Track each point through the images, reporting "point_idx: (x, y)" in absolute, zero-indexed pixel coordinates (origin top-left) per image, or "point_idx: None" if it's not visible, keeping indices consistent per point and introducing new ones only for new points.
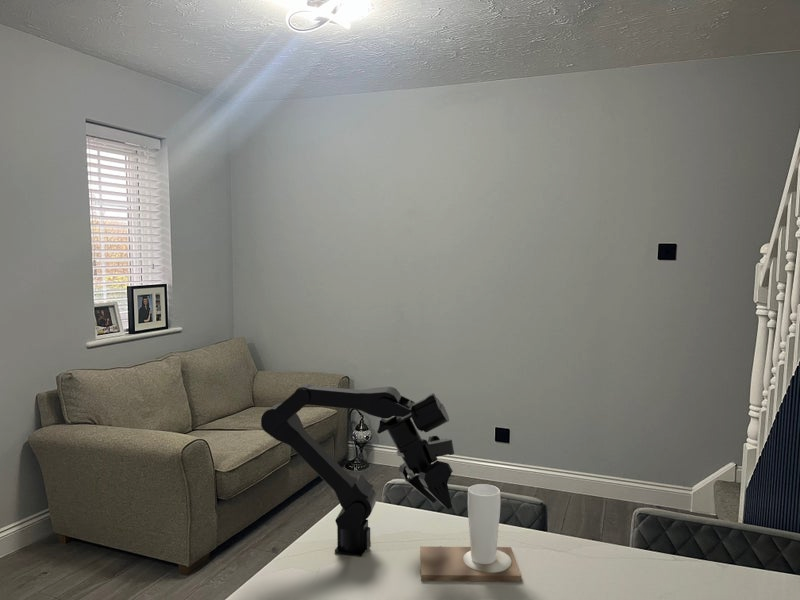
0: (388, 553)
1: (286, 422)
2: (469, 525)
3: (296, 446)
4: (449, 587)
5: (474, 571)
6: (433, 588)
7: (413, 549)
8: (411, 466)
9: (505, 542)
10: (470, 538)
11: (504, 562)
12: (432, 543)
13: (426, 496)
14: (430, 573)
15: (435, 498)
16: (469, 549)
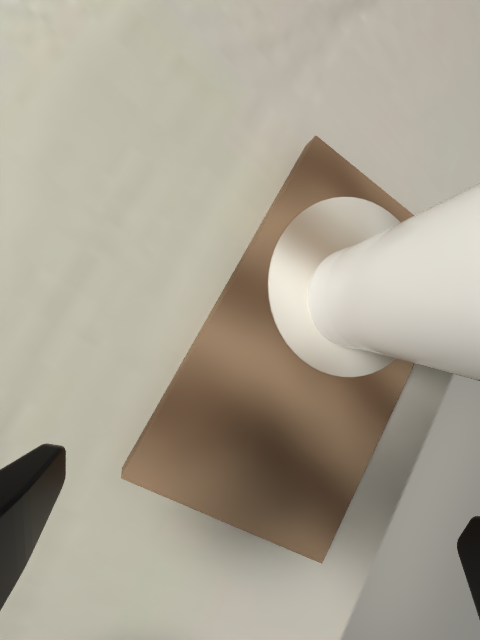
0: (59, 610)
1: None
2: (450, 372)
3: None
4: (380, 475)
5: (385, 374)
6: (363, 526)
7: (84, 486)
8: None
9: (232, 98)
10: (393, 357)
11: None
12: (77, 378)
13: (1, 604)
14: (328, 526)
15: (49, 464)
16: (253, 292)
